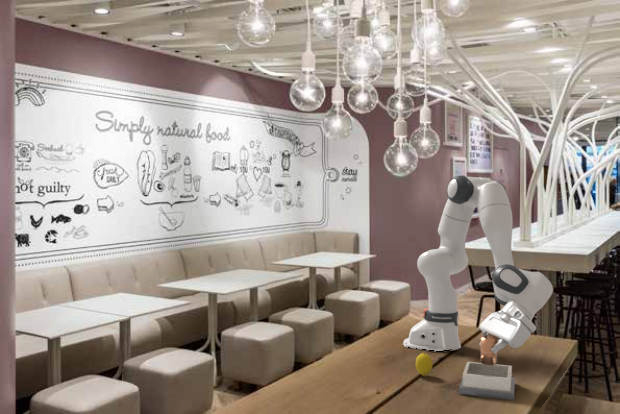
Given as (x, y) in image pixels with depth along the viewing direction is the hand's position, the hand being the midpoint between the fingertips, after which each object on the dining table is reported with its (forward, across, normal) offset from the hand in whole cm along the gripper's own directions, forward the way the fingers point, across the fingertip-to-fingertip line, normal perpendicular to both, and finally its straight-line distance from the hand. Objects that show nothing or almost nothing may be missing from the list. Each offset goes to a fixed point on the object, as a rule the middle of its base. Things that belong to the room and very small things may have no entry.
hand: (486, 349), depth 192 cm
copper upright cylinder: (+3, 0, +4) cm, 4 cm away
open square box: (+9, 0, +9) cm, 13 cm away
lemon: (+19, -17, -1) cm, 25 cm away
